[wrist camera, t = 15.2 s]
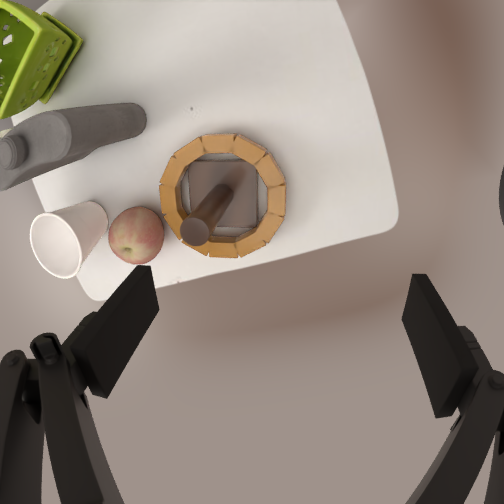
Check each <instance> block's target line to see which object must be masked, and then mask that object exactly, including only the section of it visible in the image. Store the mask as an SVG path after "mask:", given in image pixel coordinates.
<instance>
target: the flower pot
mask: <svg viewBox="0 0 504 504" xmlns="http://www.w3.org/2000/svg"><path fill="white" fill-rule="evenodd" d="M10 13H11V14H13V16H10ZM17 19H19V20H20V21H19V22H18V21H17ZM4 25H9V26H8V28H7V30H3V27H4ZM10 34H12V42H10V43H8V44H6V45H3V38H4V37H6V36H8V35H10ZM82 42H83V40H82V38H81V37H80V36H78V35H77V34H76V33H75V32H73V31H72V30H71V29H69V28H68V27H67V26H65V25H64V24H63V23H61V22H60V21H58V20H57V19H56V18H54V17H53V16H51V15H50V14H48V13H46V12H43V13H42V14H41V15H40V14H38V13H36V12H35V11H33V10H31V9H29V8H27V7H25V6H23V5H21V4H18V3H15V2H12V1H7V0H0V59H2V62H1V63H0V77H2V78H3V79H0V84H2V85H3V86H0V93H1V94H0V119H4V118H8V117H10V116H13V115H15V114H18V113H20V112H22V111H23V110H25V109H27V108H28V107H30V106H31V105H33V104H34V103H35V102H36V101H37V100H38V99H39V100H40V101H41V102H42V103H44V104H46V103H47V102H48V101H49V99H50V97H51V96H52V94H53V92H54V90H55V88H56V87H57V85H58V83H59V81H60V80H61V78H62V76H63V74H64V73H65V71H66V69H67V68H68V66H69V64H70V62H71V61H72V59H73V58H74V56H75V54H76V53H77V51H78V49H79V48H80V46H81V44H82Z"/></svg>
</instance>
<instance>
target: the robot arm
mask: <svg viewBox="0 0 504 504" xmlns="http://www.w3.org/2000/svg"><path fill="white" fill-rule="evenodd" d="M158 311H159V305H158V301H157V296H156V291H155V286H154V281H153V276H152V271H151V266H145V265H137V266H136V267H135V269H134V270H133V271H132V272H131V273H130V274H129V275H128V277H127V278H126V279H125V280H124V281H123V282H122V283H121V285H120V286H119V287H118V288H117V289H116V290H115V292H114V293H113V294H112V295H111V296H110V297H109V299H108V300H107V301H106V302H105V303H104V305H103V306H102V307H101V308H100V309H99V311H98V312H92V313H90V314H89V315H87V316H86V317H84V318H83V320H82V321H81V322H80V323H79V326H77V327H76V328H75V329H74V331H73V332H72V333H71V334H70V335H69V336H68V338H67V339H66V340H65V341H64V343H63V344H62V345H61V344H60V342H59V340H58V338H57V335H55V334H54V333H43V334H41V335H38V336H37V337H36V338H34V339H33V341H32V342H31V344H30V349H31V351H32V352H33V354H34V356H35V358H36V359H27V358H26V356H25V354H24V352H23V351H21V350H13V351H10V352H8V353H7V354H6V355H5V356H4V357H3V359H2V360H1V363H0V504H41V482H42V459H43V445H44V433H45V434H46V440H47V445H48V451H49V455H50V460H51V465H52V470H53V474H54V478H55V482H56V486H57V490H58V494H59V497H60V501H61V504H124V502H123V499H122V497H121V495H120V493H119V490H118V488H117V485H116V483H115V480H114V478H113V476H112V473H111V470H110V468H109V465H108V463H107V460H106V457H105V454H104V451H103V449H102V446H101V443H100V440H99V437H98V434H97V431H96V427H95V424H94V421H93V418H92V414H91V411H90V408H89V404H88V400H87V396H86V395H85V393H84V390H85V389H86V388H87V386H88V387H89V389H90V391H91V392H92V394H93V395H96V396H100V397H103V398H108V396H109V395H110V393H111V391H112V389H113V387H114V386H115V384H116V382H117V380H118V379H119V377H120V375H121V373H122V372H123V370H124V368H125V367H126V365H127V363H128V362H129V360H130V358H131V356H132V355H133V353H134V351H135V349H136V348H137V346H138V345H139V343H140V341H141V340H142V338H143V336H144V334H145V333H146V331H147V330H148V328H149V326H150V325H151V323H152V321H153V320H154V318H155V316H156V315H157V313H158ZM402 322H403V324H404V327H405V329H406V332H407V335H408V337H409V340H410V342H411V345H412V348H413V351H414V354H415V356H416V359H417V362H418V365H419V368H420V371H421V374H422V377H423V380H424V382H425V386H426V389H427V392H428V395H429V398H430V402H431V405H432V408H433V411H434V415H435V418H442V417H448V416H452V415H453V413H454V412H455V410H456V408H457V407H458V409H459V412H460V415H459V417H458V418H457V420H456V421H455V423H454V424H453V426H452V427H451V429H450V430H451V432H450V434H449V436H448V437H447V439H446V441H445V443H444V445H443V446H442V448H441V450H440V452H439V454H438V455H437V457H436V458H435V460H434V462H433V463H432V465H431V466H430V468H429V470H428V471H427V473H426V475H425V476H424V477H423V479H422V481H421V482H420V484H419V485H418V487H417V488H416V490H415V491H414V492H413V494H412V495H411V497H410V498H409V500H408V501H407V502H406V504H464V502H465V500H466V498H467V496H468V494H469V492H470V490H471V488H472V486H473V484H474V482H475V480H476V478H477V476H478V474H479V472H480V469H481V467H482V465H483V463H484V460H485V458H486V456H487V453H488V451H489V448H490V446H491V443H492V441H493V438H494V435H495V443H494V451H493V459H492V465H491V471H490V477H489V482H488V487H487V492H486V497H485V501H484V504H504V374H503V373H501V372H499V371H496V370H493V369H492V367H491V365H490V363H489V361H488V359H487V357H486V356H485V354H484V352H483V350H482V349H481V347H480V345H479V343H478V342H477V340H476V338H475V336H474V334H473V333H472V332H471V331H470V330H469V329H468V328H467V327H466V326H457V325H456V323H455V321H454V319H453V318H452V316H451V314H450V313H449V311H448V309H447V307H446V306H445V304H444V302H443V301H442V299H441V297H440V296H439V294H438V292H437V291H436V289H435V288H434V286H433V284H432V283H431V281H430V279H429V278H428V276H427V275H426V274H412V278H411V283H410V287H409V292H408V296H407V300H406V304H405V308H404V312H403V316H402ZM495 433H496V434H495Z"/></svg>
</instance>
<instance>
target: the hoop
mask: <svg viewBox="0 0 504 504" xmlns="http://www.w3.org/2000/svg"><path fill="white" fill-rule="evenodd" d="M266 151H267V149H266V148H264V147H262V146H260V145H259V144H257V143H255V142H253V141H251V140H250V139H248V138H246V137H244V136H242V135H238V136H237V134H236V133H233V134H206V135H203V136H200V137H198V138H196V139H195V140H193V141H192V142H190V143H189V144H187V145H186V146H184V147H183V148H181V149H180V150H178V151H177V152H175V153H174V155H173V156H171V158H170V160H169V162H168V165H167V167H166V169H165V171H164V173H163V176H162V178H161V180H160V183H162V184H161V185H159V190H160V200H161V209H162V214H165V215H164V216H163V217H164V219H165V220H166V222H167V223H168V225H169V226H170V227H171V229H172V230H173V232H174V233H175V235H176V236H177V238H178V239H179V240H180V239H182V237H181V235H180V226H181V224H182V222H183V221H184V220H185V219H186V217H187V216H188V215H187V213H186V212H185V210H184V209H183V207H182V200H181V188H180V183H181V181H182V179H183V177H184V175H185V173H186V171H187V169H188V167H189V165H190V163H192V162H193V161H195V160H196V159H198V158H199V157H201V156H203V155H204V154H206V153H232V154H234V155H236V156H238V157H240V158H241V159H243V160H245V161H247V162H248V163H250V164H252V165H254V166H255V168H256V170H257V171H258V173H259V175H260V176H261V178H262V180H263V181H264V183H265V185H266V186H267V189H268V208H267V211H266V213H265V214H264V216H263V217H262V219H261V221H260V222H259V224H258V226H257V227H255V228H253V229H251V230H249V231H247V232H245V233H244V234H242V235H240V236H238V237H222V236H213V235H211V236H210V238H209V239H208V241H207V242H206V243H205V244H203V245H201V246H191V245H189V244H187V243H186V242H185V241H184V240H182V243H184V244H185V245H187V246H189V247H191V248H193V249H194V250H196V251H198V252H200V253H202V254H203V255H205V256H207V254H208V252H209V257H222V258H238V255H239V256H240V257H243V256H245V255H247V254H249V253H251V252H253V251H255V250H257V249H259V248H261V247H263V246H265V245H266V242H267V243H269V242H270V240H271V238H272V237H273V235H274V234H275V232H276V231H277V229H278V228H279V226H280V225H281V223H282V222H283V220H284V216H285V211H286V182H285V177H284V175H283V174H282V172H281V170H280V168H279V167H278V165H277V163H276V162H275V160H274V158H273V156H272V155H271V153H270V152H269V153H267V154H265V153H266ZM264 154H265V155H264Z"/></svg>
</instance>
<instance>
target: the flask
mask: <svg viewBox="0 0 504 504" xmlns="http://www.w3.org/2000/svg"><path fill="white" fill-rule="evenodd" d="M145 125H146V114H145V112H144V110H143V109H142V108H141V107H140V106H139V105H137V104H133V103H120V104H106V105H95V106H85V107H76V108H68V109H60V110H53V111H46V112H43V113H40V114H37V115H35V116H32V117H30V118H28V119H26V120H24V121H23V122H21V123H19V124H18V125H16V126H15V127H14V128H12V129H11V130H10V131H9V132H8V133H7V134H6V135H5V136H3V138H2V139H1V140H0V191H3V190H7V189H9V188H11V187H13V186H15V185H18V184H20V183H22V182H25V181H27V180H29V179H32V178H34V177H36V176H39V175H41V174H44V173H46V172H49V171H51V170H54V169H56V168H59V167H61V166H64V165H67V164H69V163H72V162H75V161H77V160H80V159H83V158H84V157H86V156H87V155H88V154H90V153H91V152H92V151H93V150H95V149H97V148H98V147H101V146H105V145H108V144H112V143H115V142H118V141H122V140H126V139H129V138H133V137H136V136H138V135H139V134H141V133H142V131H143V130H144V128H145Z"/></svg>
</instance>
